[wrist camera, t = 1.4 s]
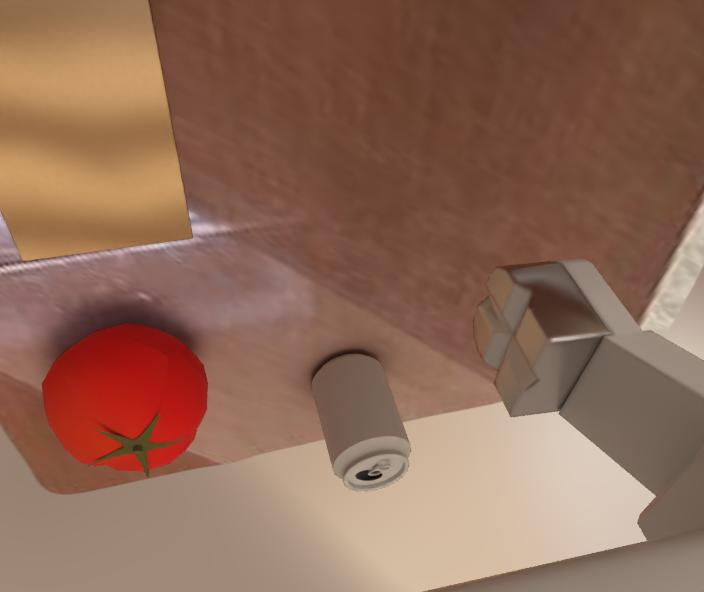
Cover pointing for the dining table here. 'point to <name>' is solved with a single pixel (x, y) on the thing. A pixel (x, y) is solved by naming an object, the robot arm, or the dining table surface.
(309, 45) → the dining table surface
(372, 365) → the can
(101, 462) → the tomato
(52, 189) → the cork mat
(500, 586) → the robot arm
